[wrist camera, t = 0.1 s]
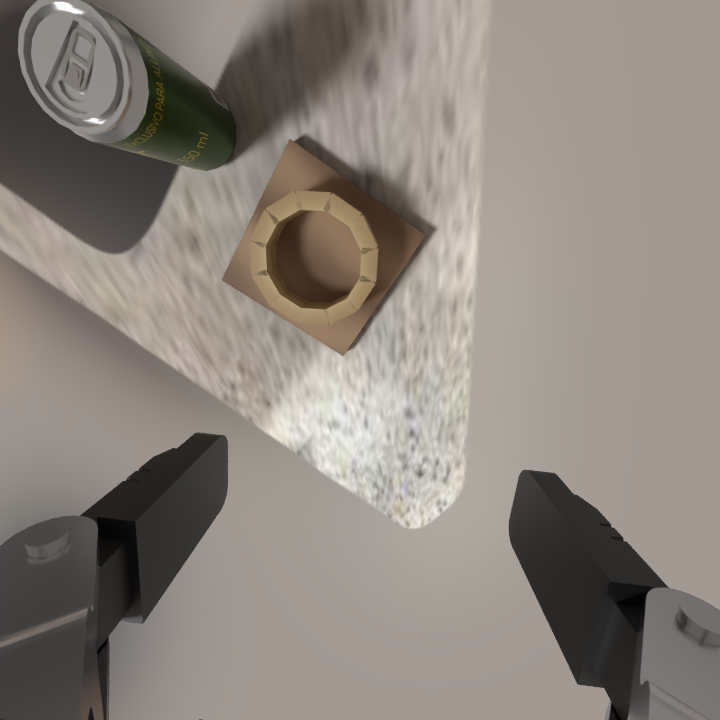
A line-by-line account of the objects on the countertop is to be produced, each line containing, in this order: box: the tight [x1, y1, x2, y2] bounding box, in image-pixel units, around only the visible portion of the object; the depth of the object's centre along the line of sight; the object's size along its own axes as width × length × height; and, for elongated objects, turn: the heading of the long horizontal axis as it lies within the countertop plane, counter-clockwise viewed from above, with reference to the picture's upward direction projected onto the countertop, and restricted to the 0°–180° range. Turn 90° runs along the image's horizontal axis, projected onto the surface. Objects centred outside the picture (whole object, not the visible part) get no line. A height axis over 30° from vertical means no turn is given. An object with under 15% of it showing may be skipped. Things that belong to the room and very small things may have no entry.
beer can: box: [18, 0, 236, 171], centre depth 21 cm, size 5×5×12 cm
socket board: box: [222, 139, 425, 356], centre depth 28 cm, size 12×12×4 cm
